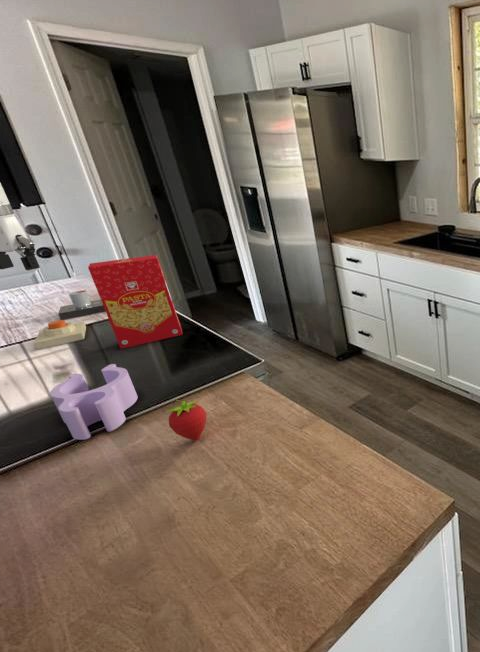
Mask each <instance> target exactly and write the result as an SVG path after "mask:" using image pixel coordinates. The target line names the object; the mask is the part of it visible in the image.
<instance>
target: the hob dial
mask: <svg viewBox="0 0 480 652" xmlns="http://www.w3.org/2000/svg"><path fill="white" fill-rule="evenodd" d="M68 296H69V298H70V300H71V304H73V305H74V307H75V308H81V307H86V306H89V305H91V302H90V301H91V299H90V297H89V295H88V292H87V290H86V289H83V290H77V291H72V292H69V293H68Z"/></svg>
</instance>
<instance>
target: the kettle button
mask: <svg viewBox="0 0 480 652" xmlns="http://www.w3.org/2000/svg"><path fill="white" fill-rule="evenodd" d="M65 322H66V321H65V320H61V319H59V320H54V321H51V322H48V323H47V326H49V328H50V329H57V328H61V327H64V326H66V323H65Z"/></svg>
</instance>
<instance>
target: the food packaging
mask: <svg viewBox="0 0 480 652" xmlns="http://www.w3.org/2000/svg"><path fill="white" fill-rule="evenodd" d="M87 268H88V271H89V273H90V277H91V279H92V282H93V283H94V286H95V289H96V291H97V293H98V296H99V298H100V299H101V301H102V303H103V306H104V308H105V311H106V312H105V314H106V316H107V317H108V318H107V319H108V321H109V323H110V326H111V328H112V330H113V333H114V336H115V338H116V341H117V343H118V346H119V348H120V349H126V348H131V347H135V346H139V345H144V344H148V343H152V342H156V341H161V340H166V339H170V338H173V337H178V336H183V329H182V325H181V323H180V319H179V317H178V314H177V310H176V307H175V305H174V301H173V299H172V296H171V292H170V290H169V287H168V284H167V281H166V278H165V275H164V272H163V269H162V266H161V263H160V260H159V257H158V254H150V255H143V256H137V257H129V258H121V259H116V260H115V259H113V260H107V261H99V262H92V263H91V262H90V263H89V265H88V267H87ZM100 299H99V300H100Z"/></svg>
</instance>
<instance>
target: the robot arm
mask: <svg viewBox="0 0 480 652" xmlns="http://www.w3.org/2000/svg"><path fill="white" fill-rule="evenodd" d="M7 196H8V195H7V194H6V192H5V189H4V187H3V185H2V183H1V182H0V270H6V269H11V268H14V267H15V266H14V263H13V261H12V259H11V257H10V255H9V254H8V253H11V252H14V251H15V253H17V254H18V255H19V256H20V257H19V259H20V261H21V264H22V265H23V267H24V270H25V271H32V270H37V269H40V268H41V266H40V264H39V261H38V260H37V258H36V248H35V242H34V241H32V240H31V239H29V238H28V237H27V234H26V232H25V230H24V229H23V227H22V225H21V223H20V221H19V220H18V219H17V217H16V214H15V212H14V210H13V207H12V206H11V203H10V201H9V199H8V197H7Z"/></svg>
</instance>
